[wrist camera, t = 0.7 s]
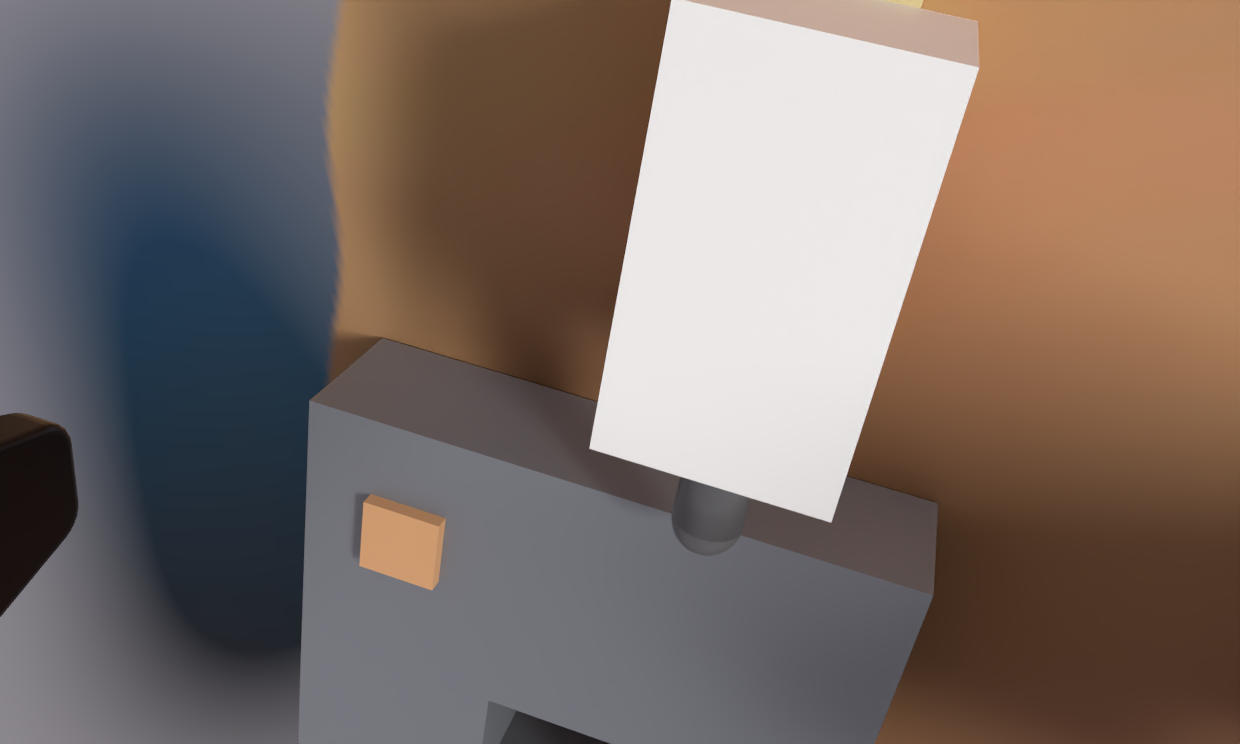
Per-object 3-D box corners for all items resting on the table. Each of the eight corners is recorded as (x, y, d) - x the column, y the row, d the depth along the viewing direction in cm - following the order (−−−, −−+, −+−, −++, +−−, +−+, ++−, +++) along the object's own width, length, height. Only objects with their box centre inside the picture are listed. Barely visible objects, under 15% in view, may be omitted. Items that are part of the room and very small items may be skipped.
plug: (981, -16, 17) (985, 49, 12) (834, 453, 22) (789, 649, 16) (760, -63, 18) (674, -21, 13) (660, 402, 22) (565, 575, 17)
